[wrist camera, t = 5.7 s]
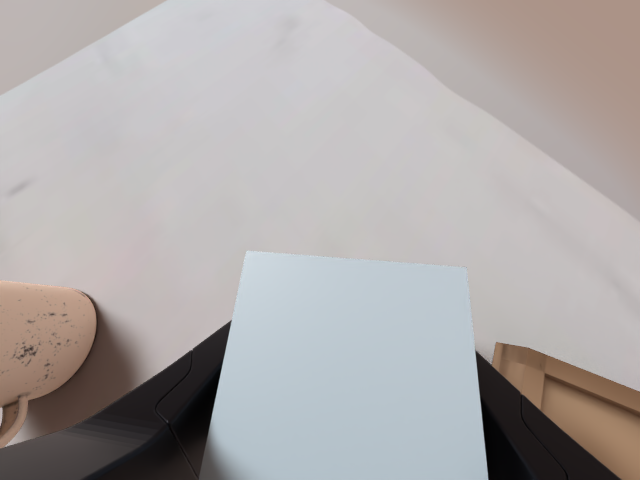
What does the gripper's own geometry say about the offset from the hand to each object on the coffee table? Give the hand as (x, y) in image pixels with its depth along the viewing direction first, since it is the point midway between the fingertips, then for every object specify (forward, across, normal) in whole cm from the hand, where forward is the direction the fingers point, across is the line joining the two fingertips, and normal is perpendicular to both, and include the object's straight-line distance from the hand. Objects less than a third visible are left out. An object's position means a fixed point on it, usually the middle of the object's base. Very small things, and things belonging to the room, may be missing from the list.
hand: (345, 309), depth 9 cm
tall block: (+4, 0, +6) cm, 7 cm away
